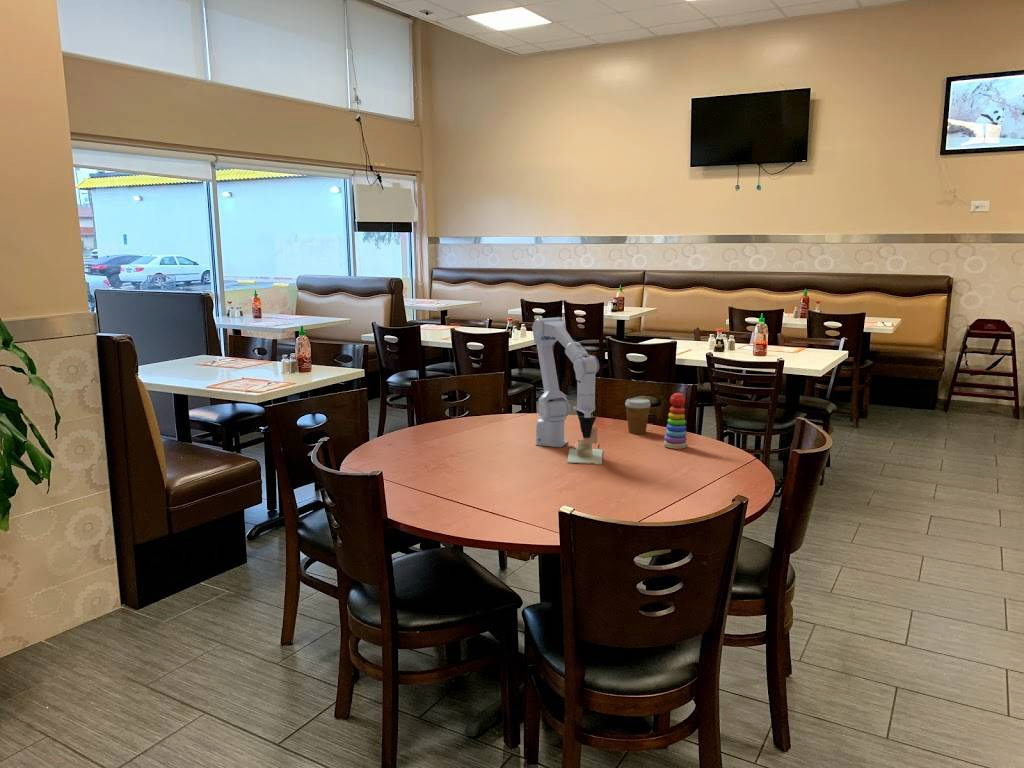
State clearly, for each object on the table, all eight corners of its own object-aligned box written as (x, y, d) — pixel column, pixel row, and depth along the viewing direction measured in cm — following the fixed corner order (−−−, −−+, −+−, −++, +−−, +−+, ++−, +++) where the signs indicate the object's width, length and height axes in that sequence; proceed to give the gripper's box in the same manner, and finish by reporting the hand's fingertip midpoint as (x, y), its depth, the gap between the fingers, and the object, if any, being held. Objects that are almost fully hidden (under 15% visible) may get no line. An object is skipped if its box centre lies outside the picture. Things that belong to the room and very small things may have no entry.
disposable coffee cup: (619, 430, 285) (619, 399, 283) (640, 428, 289) (641, 397, 287) (633, 436, 276) (634, 403, 274) (655, 433, 280) (656, 401, 278)
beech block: (578, 457, 247) (578, 443, 246) (577, 453, 251) (577, 440, 251) (592, 457, 247) (592, 443, 246) (591, 453, 251) (591, 440, 251)
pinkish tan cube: (583, 443, 246) (583, 430, 245) (583, 440, 251) (583, 426, 250) (597, 444, 246) (597, 430, 245) (597, 440, 250) (597, 427, 249)
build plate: (567, 463, 242) (567, 461, 242) (569, 450, 258) (569, 448, 258) (601, 464, 241) (602, 462, 241) (602, 451, 256) (602, 449, 256)
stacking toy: (687, 450, 257) (689, 395, 254) (663, 449, 259) (665, 395, 255) (687, 444, 265) (689, 391, 262) (663, 443, 266) (665, 390, 263)
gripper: (572, 389, 253) (571, 429, 255) (575, 398, 238) (574, 440, 241) (593, 389, 253) (592, 429, 255) (597, 398, 238) (597, 440, 241)
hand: (585, 434), depth 248 cm, fingers open, 7 cm apart
